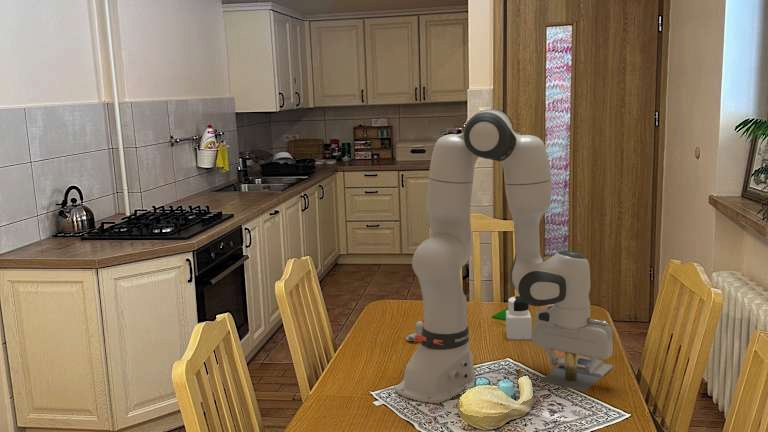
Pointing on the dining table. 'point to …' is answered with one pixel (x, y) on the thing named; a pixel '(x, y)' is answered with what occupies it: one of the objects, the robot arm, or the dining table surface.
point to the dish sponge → (500, 317)
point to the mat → (580, 384)
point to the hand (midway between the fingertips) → (571, 368)
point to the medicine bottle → (518, 320)
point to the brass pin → (570, 366)
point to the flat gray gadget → (599, 367)
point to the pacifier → (418, 331)
